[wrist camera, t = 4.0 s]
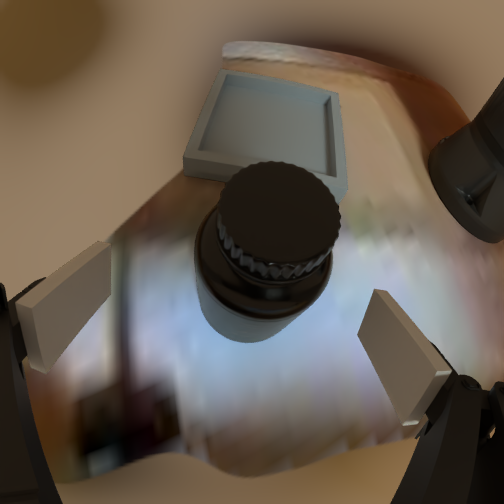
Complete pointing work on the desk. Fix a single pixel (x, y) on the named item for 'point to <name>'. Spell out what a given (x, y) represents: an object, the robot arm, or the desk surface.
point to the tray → (268, 129)
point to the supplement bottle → (265, 250)
